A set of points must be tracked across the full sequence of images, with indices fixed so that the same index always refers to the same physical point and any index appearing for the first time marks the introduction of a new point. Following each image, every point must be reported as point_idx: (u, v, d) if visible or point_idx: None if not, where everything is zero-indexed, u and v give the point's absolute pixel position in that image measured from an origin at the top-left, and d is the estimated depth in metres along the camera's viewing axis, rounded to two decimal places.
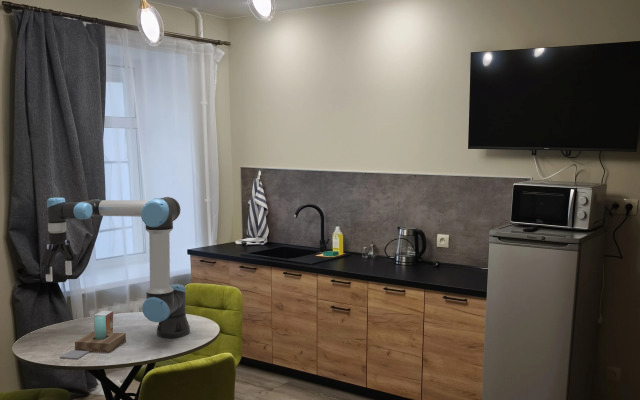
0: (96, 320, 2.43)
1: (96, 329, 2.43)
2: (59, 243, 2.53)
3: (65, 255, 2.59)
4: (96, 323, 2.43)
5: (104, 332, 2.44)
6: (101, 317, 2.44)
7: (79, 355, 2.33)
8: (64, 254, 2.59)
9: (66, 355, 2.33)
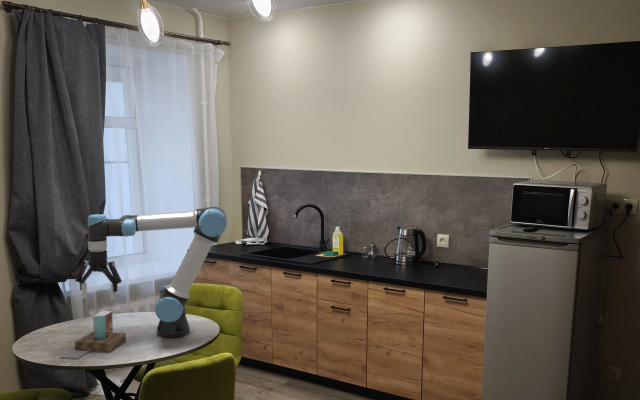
0: (96, 320, 2.43)
1: (96, 329, 2.43)
2: (95, 262, 2.41)
3: None
4: (96, 323, 2.43)
5: (104, 332, 2.44)
6: (101, 317, 2.44)
7: (79, 355, 2.33)
8: None
9: (66, 355, 2.33)
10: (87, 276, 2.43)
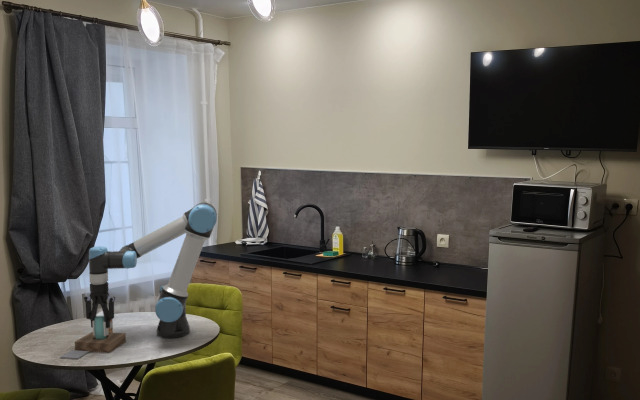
0: (96, 320, 2.43)
1: (96, 329, 2.43)
2: (97, 295, 2.43)
3: None
4: (96, 323, 2.43)
5: None
6: (101, 317, 2.44)
7: (79, 355, 2.33)
8: None
9: (66, 355, 2.33)
10: (95, 311, 2.44)
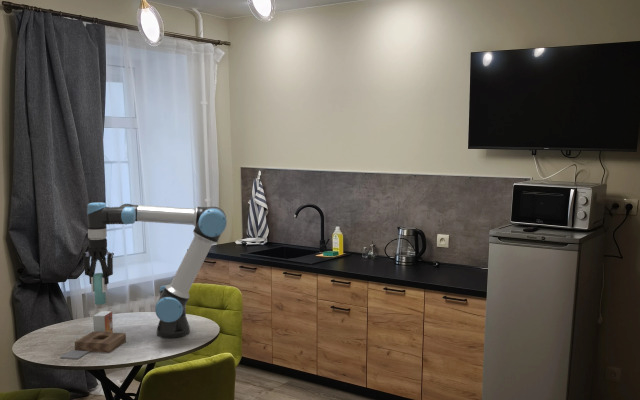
0: (95, 277, 2.41)
1: (95, 286, 2.42)
2: (95, 250, 2.41)
3: None
4: (95, 280, 2.41)
5: None
6: (100, 274, 2.43)
7: (79, 355, 2.33)
8: None
9: (66, 355, 2.33)
10: (93, 267, 2.43)
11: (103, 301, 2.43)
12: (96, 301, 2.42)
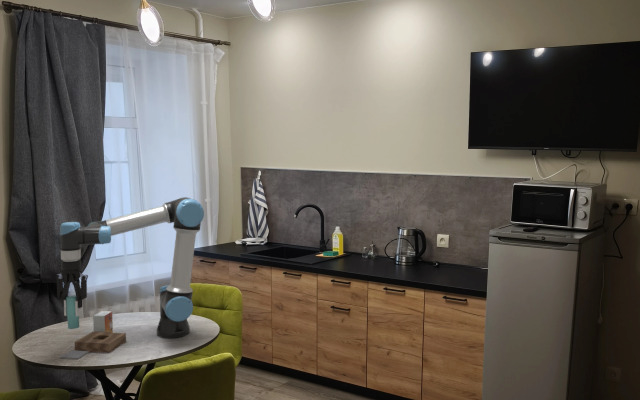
0: (68, 300, 2.31)
1: (68, 309, 2.31)
2: (69, 272, 2.31)
3: None
4: (68, 303, 2.31)
5: None
6: (73, 296, 2.32)
7: (79, 355, 2.33)
8: None
9: (66, 355, 2.33)
10: (66, 290, 2.32)
11: (76, 325, 2.33)
12: (69, 325, 2.32)
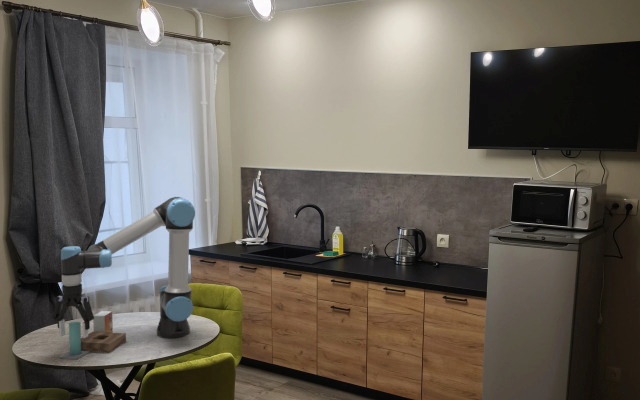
0: (70, 326, 2.32)
1: (70, 335, 2.33)
2: (70, 297, 2.31)
3: None
4: (70, 329, 2.32)
5: (78, 338, 2.34)
6: (76, 323, 2.34)
7: (79, 355, 2.33)
8: None
9: (66, 355, 2.33)
10: (64, 312, 2.33)
11: (78, 351, 2.34)
12: (71, 351, 2.33)
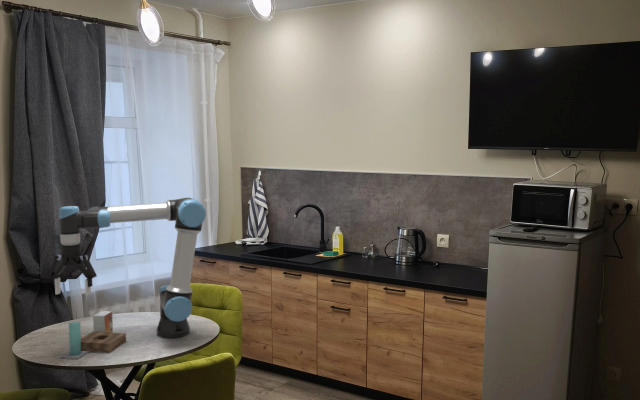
0: (70, 326, 2.32)
1: (70, 336, 2.32)
2: (69, 256, 2.31)
3: None
4: (70, 329, 2.32)
5: (78, 339, 2.34)
6: (76, 323, 2.34)
7: (79, 355, 2.33)
8: None
9: (66, 355, 2.33)
10: (60, 271, 2.33)
11: (78, 352, 2.34)
12: (71, 352, 2.33)
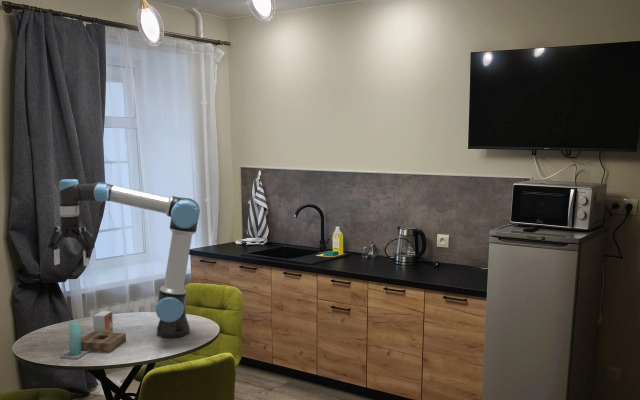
0: (70, 326, 2.32)
1: (70, 335, 2.32)
2: (68, 228, 2.38)
3: None
4: (70, 329, 2.32)
5: (79, 339, 2.34)
6: (76, 323, 2.34)
7: (79, 355, 2.33)
8: None
9: (66, 355, 2.33)
10: (59, 242, 2.40)
11: (78, 352, 2.34)
12: (71, 351, 2.33)
